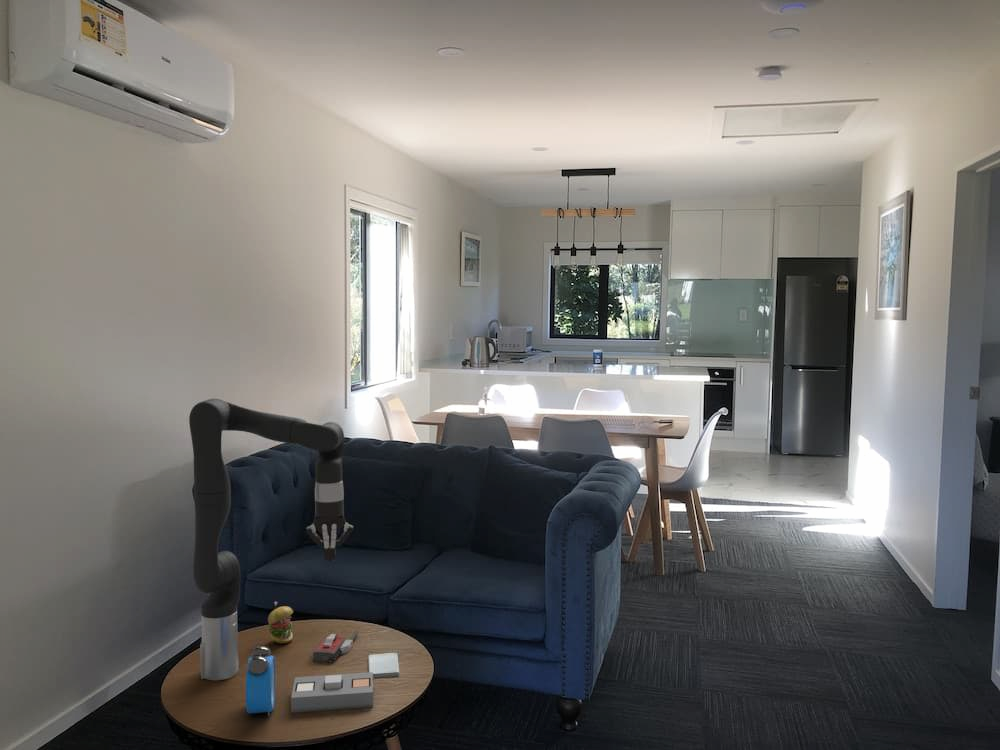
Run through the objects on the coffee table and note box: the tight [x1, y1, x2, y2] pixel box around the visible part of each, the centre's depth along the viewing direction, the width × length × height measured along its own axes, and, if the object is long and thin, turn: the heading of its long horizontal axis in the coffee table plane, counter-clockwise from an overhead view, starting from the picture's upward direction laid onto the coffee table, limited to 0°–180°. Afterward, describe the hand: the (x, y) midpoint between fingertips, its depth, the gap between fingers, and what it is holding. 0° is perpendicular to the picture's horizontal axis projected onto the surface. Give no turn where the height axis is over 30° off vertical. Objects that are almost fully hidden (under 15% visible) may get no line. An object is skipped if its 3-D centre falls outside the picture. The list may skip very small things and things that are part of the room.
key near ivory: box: [296, 683, 314, 692], centre depth 204 cm, size 4×4×3 cm
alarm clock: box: [245, 644, 276, 717], centre depth 199 cm, size 13×6×15 cm, turn 11°
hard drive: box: [368, 652, 400, 679], centre depth 224 cm, size 2×8×12 cm
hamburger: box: [267, 601, 294, 644], centre depth 240 cm, size 8×7×12 cm
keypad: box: [290, 671, 374, 713], centre depth 205 cm, size 20×11×4 cm, turn 99°
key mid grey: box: [325, 674, 342, 690], centre depth 205 cm, size 4×4×3 cm
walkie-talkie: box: [312, 630, 359, 663], centre depth 235 cm, size 9×4×20 cm
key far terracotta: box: [353, 679, 369, 688], centre depth 206 cm, size 4×4×3 cm
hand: (330, 560), depth 216 cm, fingers closed
